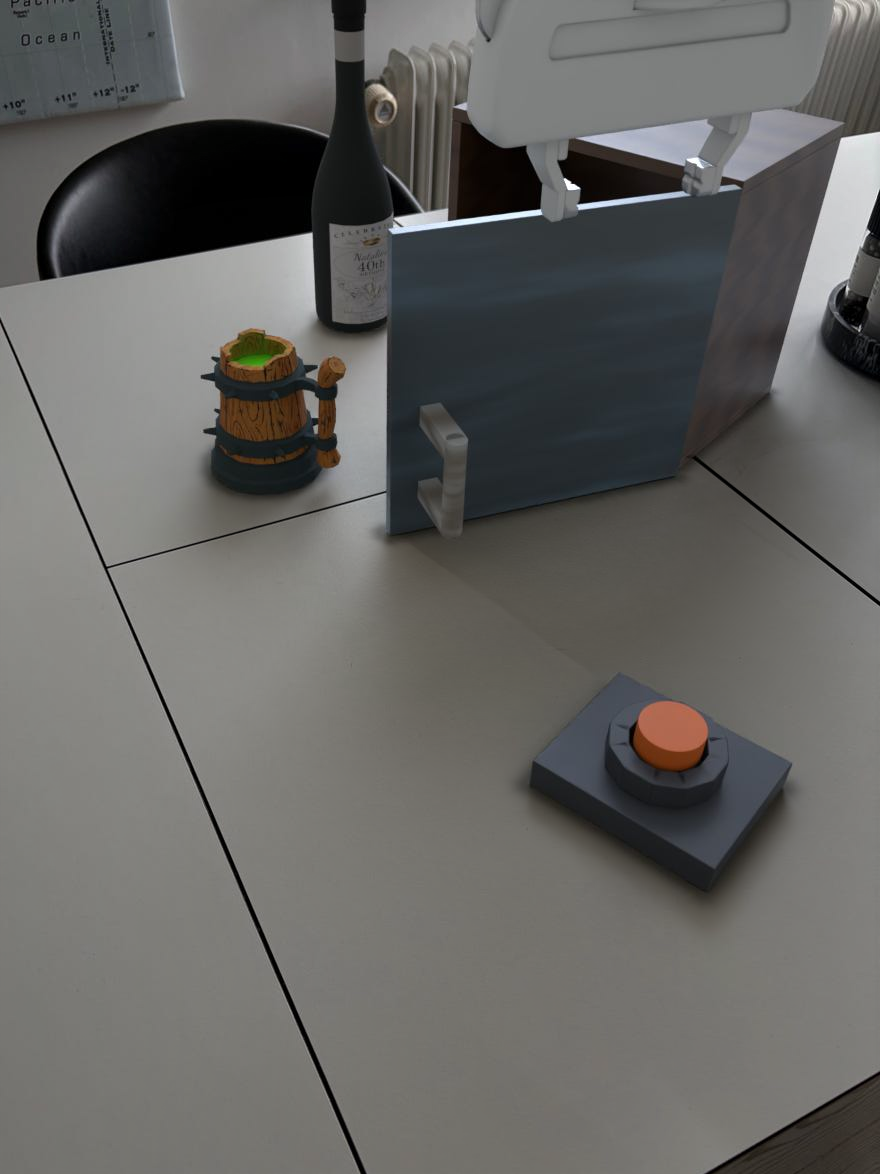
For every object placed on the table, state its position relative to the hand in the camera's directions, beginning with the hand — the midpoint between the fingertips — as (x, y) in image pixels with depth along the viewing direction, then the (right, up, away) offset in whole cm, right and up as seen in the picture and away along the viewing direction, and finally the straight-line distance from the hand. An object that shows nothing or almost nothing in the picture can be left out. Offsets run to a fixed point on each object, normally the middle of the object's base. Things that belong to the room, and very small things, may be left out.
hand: (630, 205), depth 60 cm
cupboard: (+6, 0, +40) cm, 41 cm away
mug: (-24, -11, +29) cm, 39 cm away
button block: (+2, -34, +3) cm, 34 cm away
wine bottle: (-18, +8, +49) cm, 53 cm away
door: (-1, -16, +23) cm, 28 cm away
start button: (+2, -31, +1) cm, 32 cm away
